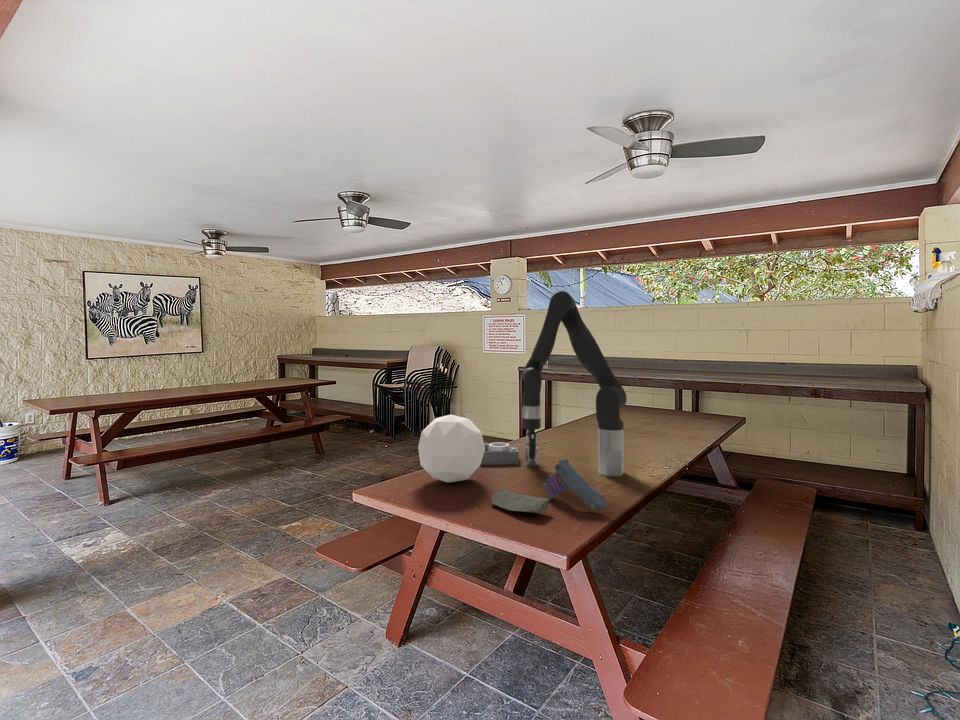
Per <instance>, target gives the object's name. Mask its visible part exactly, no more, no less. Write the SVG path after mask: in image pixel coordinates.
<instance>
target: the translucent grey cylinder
mask: <svg viewBox="0 0 960 720" xmlns="http://www.w3.org/2000/svg"><path fill="white" fill-rule="evenodd" d="M531 446H534V445H531ZM524 448H525V466H526V467H528V468H534V467H537V466H538V463H539V462H538V457H539V455H538V449H539V447H538V442H536V449H535V459H530V458H529V445H528V442H527V441H526V442H525V447H524Z"/></svg>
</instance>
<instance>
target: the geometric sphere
mask: <svg viewBox="0 0 960 720" xmlns="http://www.w3.org/2000/svg"><path fill="white" fill-rule="evenodd" d="M484 443H485V442H484V438H483V433H482V430H480V429H479V428H478V427H477V426H476V425H475V424H474V422H472V421H471V419H469V418H466V417H462V416H458V415H454V414H447V415H443V416H439V417H436V418H434V419H433V420H432V421H431V422H430V423H429V424H428V425H426V427H425V428H424V429H423V430H422V431H421V433H420V438H419V442H418V447H417V450H418V456H419V462H420V467H421V468H423V469H424V470H425V471H426V472H427V473H428V474H429V475H430V476H431V477H432V478H433V479H435V480H439V481H441V482H444V483H455V482H459V481H466V480H468V479H469V478H470V477H471V476H472V475H473V474H474V473H475V472H476V470H477V469H478V468H479V467H480V466H481V465H480V464H481V461H482V458H483V455H484V451H485V446H484Z"/></svg>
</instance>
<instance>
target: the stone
mask: <svg viewBox="0 0 960 720" xmlns="http://www.w3.org/2000/svg"><path fill="white" fill-rule="evenodd" d="M490 503H491V504H493V505H494V506H497V507H499V508H502V509H503V510H507V511H513V512H523V513H524V512H525V513H534V514H540V513H542V512H547V510H548V507H549V505H550V504H549V503H550V498H546V497H535V496H532V495H531V496H530V495H526V494H520V493H515V492H511V491H509V490H504V489H502V490H501V489H499V490H498V491H495V492H494V493H493V494H492V495H491V500H490Z"/></svg>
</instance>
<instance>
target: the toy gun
mask: <svg viewBox="0 0 960 720" xmlns="http://www.w3.org/2000/svg"><path fill="white" fill-rule="evenodd" d="M554 469H555V472H554V473H552V474H551V475H549V476H548V477H547V479H546V480H545V483H542V487H543V489H544V490H545V492H546V494H547V496H548V499H549V500H552V499H555V498H556V496H558V495H560V493H562V491H564V489H566V490H568V491H569V490H571V491H572V492H574V493H576V496H577V497H579V499H580V500H581V501H583V503H584V504H585V505H586V506H587V507H589V508H590V509H591V510H592V511H593V512H594V511H596V510H597V511H598V512H600V511H601V510H605V509H607V507H608V506H607V505H606V504H607V503H608V501H607V500H606V498H605V497H604V496H605V494H600V492H598V491H597V490H595V488H593V487H592V486H591V484H589V482H588V481H587V480H585V478H584V477H582V475H580V474H579V473H578V472H577V471H576V470H575V468H574V467H573V466H572V465H571V464H570V462H569V459H568V458H565V459H564V458H563V459H562V458H561V459H559V460H558V463H556V465H554Z"/></svg>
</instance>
